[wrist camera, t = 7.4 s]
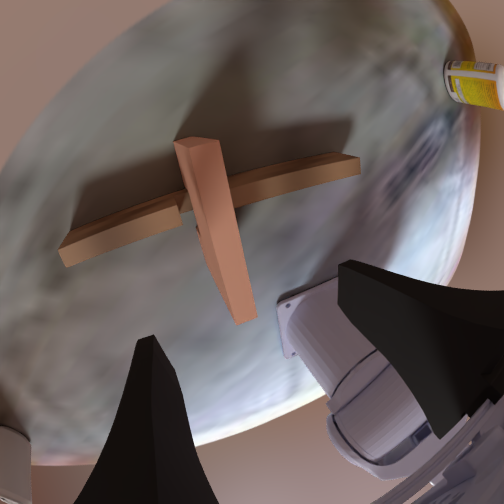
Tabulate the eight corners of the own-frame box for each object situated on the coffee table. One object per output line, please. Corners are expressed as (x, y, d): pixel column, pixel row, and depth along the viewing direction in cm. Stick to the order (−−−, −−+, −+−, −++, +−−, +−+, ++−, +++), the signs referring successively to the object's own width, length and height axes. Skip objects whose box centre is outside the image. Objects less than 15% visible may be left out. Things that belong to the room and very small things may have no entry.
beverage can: (-11, 418, 17) (-18, 489, 7) (26, 431, 20) (26, 506, 10) (1, 437, 18) (-2, 500, 8) (35, 448, 22) (37, 514, 12)
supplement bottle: (459, 108, 23) (526, 124, 15) (440, 89, 21) (517, 101, 12) (462, 74, 21) (526, 84, 12) (442, 52, 19) (515, 57, 10)
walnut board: (334, 151, 20) (359, 157, 17) (335, 166, 20) (360, 173, 18) (69, 231, 15) (57, 250, 12) (76, 247, 16) (66, 267, 13)
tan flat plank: (173, 141, 15) (188, 148, 10) (191, 136, 16) (219, 140, 10) (206, 264, 20) (236, 325, 14) (222, 258, 20) (257, 317, 14)
